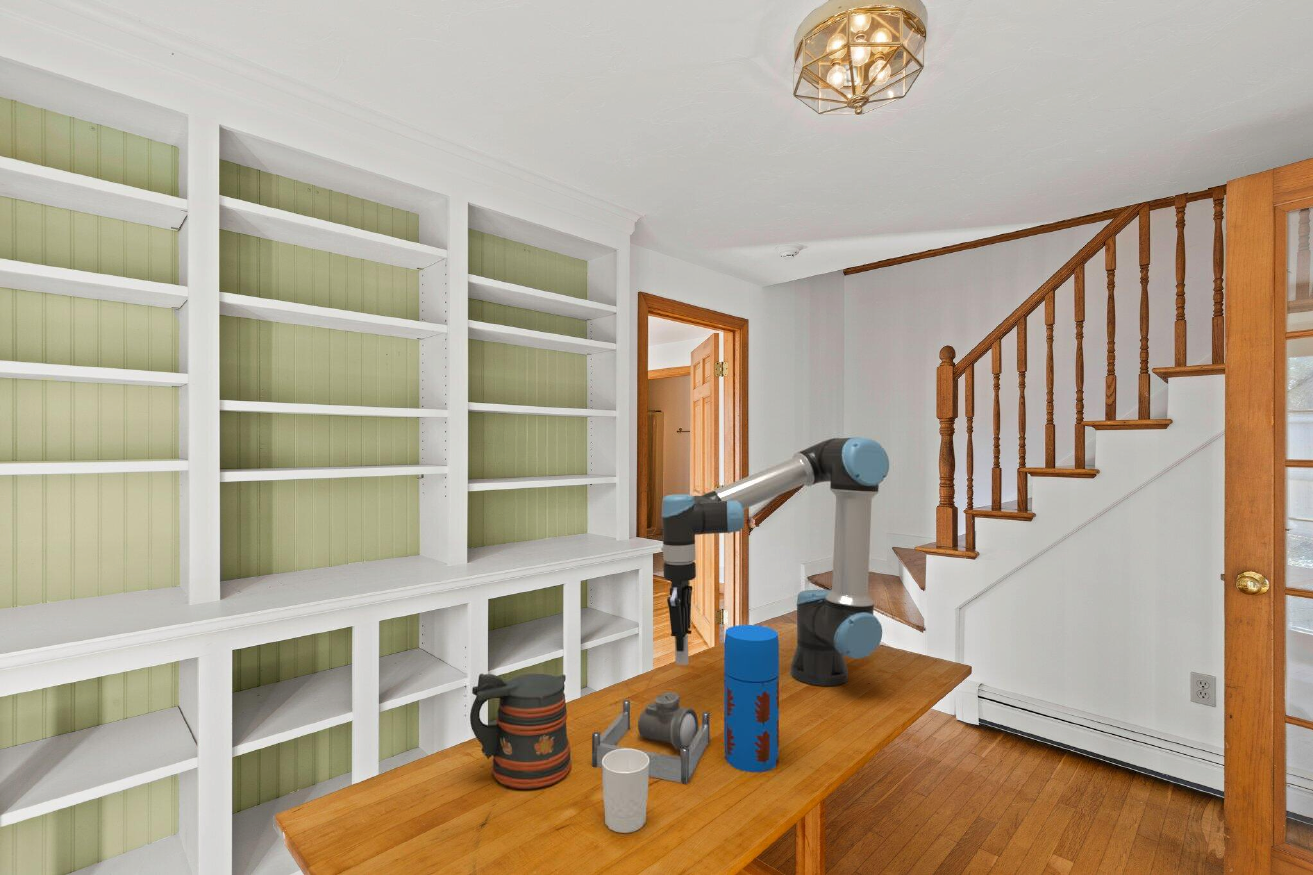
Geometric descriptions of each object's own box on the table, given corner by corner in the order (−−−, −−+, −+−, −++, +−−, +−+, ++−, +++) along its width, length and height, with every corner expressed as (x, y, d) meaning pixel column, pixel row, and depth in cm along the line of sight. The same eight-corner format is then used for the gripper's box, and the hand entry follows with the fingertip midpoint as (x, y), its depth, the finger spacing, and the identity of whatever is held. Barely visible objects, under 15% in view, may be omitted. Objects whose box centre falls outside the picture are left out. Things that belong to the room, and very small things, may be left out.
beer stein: (485, 809, 103) (486, 691, 104) (459, 771, 115) (460, 665, 116) (584, 775, 114) (584, 669, 114) (551, 744, 126) (551, 647, 127)
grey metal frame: (624, 726, 134) (624, 699, 134) (710, 740, 128) (710, 712, 128) (590, 765, 118) (590, 734, 118) (687, 784, 111) (687, 751, 111)
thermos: (782, 750, 124) (782, 627, 125) (774, 776, 114) (775, 643, 114) (730, 741, 128) (730, 622, 128) (718, 766, 118) (718, 637, 118)
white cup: (601, 807, 104) (602, 749, 104) (647, 805, 105) (647, 747, 105) (601, 837, 96) (601, 773, 96) (650, 834, 97) (651, 771, 97)
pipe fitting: (703, 740, 127) (696, 691, 127) (683, 759, 121) (676, 708, 121) (656, 731, 134) (650, 685, 134) (635, 749, 127) (628, 701, 127)
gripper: (672, 555, 148) (674, 652, 148) (655, 566, 136) (657, 672, 135) (702, 556, 146) (704, 655, 145) (687, 567, 133) (690, 675, 133)
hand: (682, 663), depth 140 cm, fingers closed
